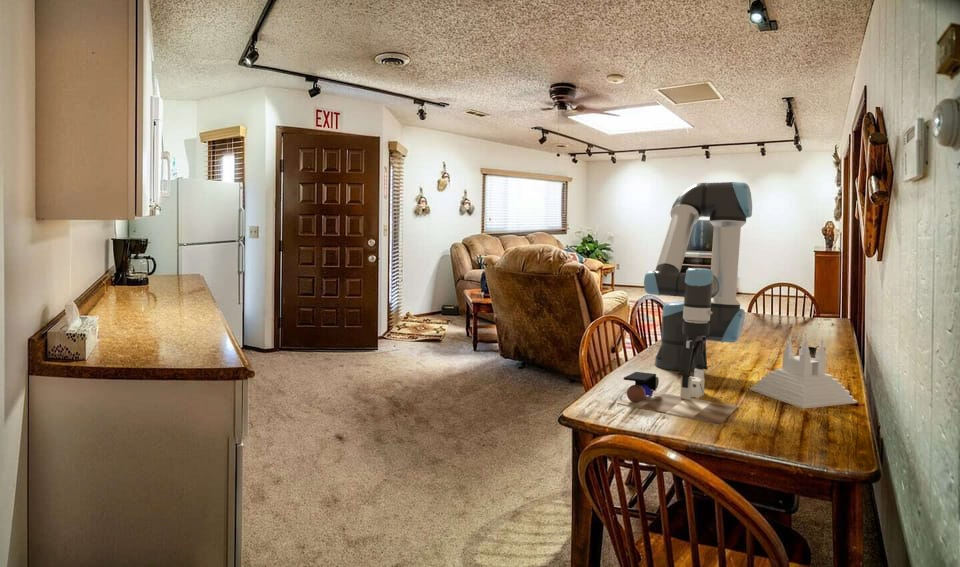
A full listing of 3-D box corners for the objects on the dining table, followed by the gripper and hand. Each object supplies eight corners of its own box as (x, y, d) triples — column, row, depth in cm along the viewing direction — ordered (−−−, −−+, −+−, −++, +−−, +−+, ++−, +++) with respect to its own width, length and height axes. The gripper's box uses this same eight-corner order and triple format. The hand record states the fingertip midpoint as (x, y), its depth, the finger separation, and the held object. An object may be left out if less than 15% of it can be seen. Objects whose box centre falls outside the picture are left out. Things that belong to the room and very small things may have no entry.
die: (686, 392, 187) (687, 375, 187) (703, 395, 184) (704, 378, 184) (681, 395, 183) (682, 378, 183) (698, 398, 180) (699, 381, 180)
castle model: (803, 409, 172) (807, 344, 170) (749, 390, 191) (753, 331, 189) (856, 403, 178) (861, 341, 177) (800, 386, 197) (804, 329, 195)
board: (640, 390, 188) (640, 389, 188) (738, 407, 171) (738, 406, 171) (616, 403, 173) (616, 402, 173) (720, 424, 157) (720, 423, 157)
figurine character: (636, 395, 186) (620, 401, 173) (637, 369, 186) (622, 374, 173) (658, 398, 183) (645, 405, 170) (660, 372, 183) (647, 377, 170)
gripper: (696, 326, 169) (692, 404, 171) (720, 318, 189) (716, 389, 190) (669, 323, 174) (665, 399, 175) (695, 316, 193) (691, 385, 195)
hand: (691, 394), depth 183 cm, fingers open, 11 cm apart
